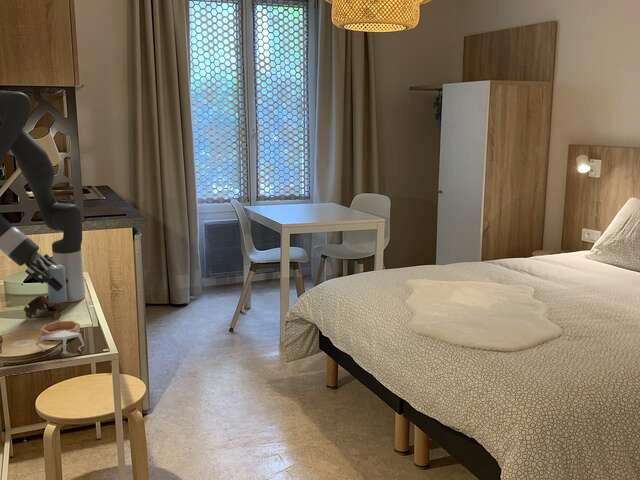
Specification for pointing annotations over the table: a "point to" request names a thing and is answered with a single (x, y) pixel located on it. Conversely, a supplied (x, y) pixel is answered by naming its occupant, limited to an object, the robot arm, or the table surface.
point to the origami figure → (61, 338)
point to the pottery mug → (41, 307)
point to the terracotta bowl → (60, 327)
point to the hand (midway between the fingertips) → (63, 285)
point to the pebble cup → (59, 275)
